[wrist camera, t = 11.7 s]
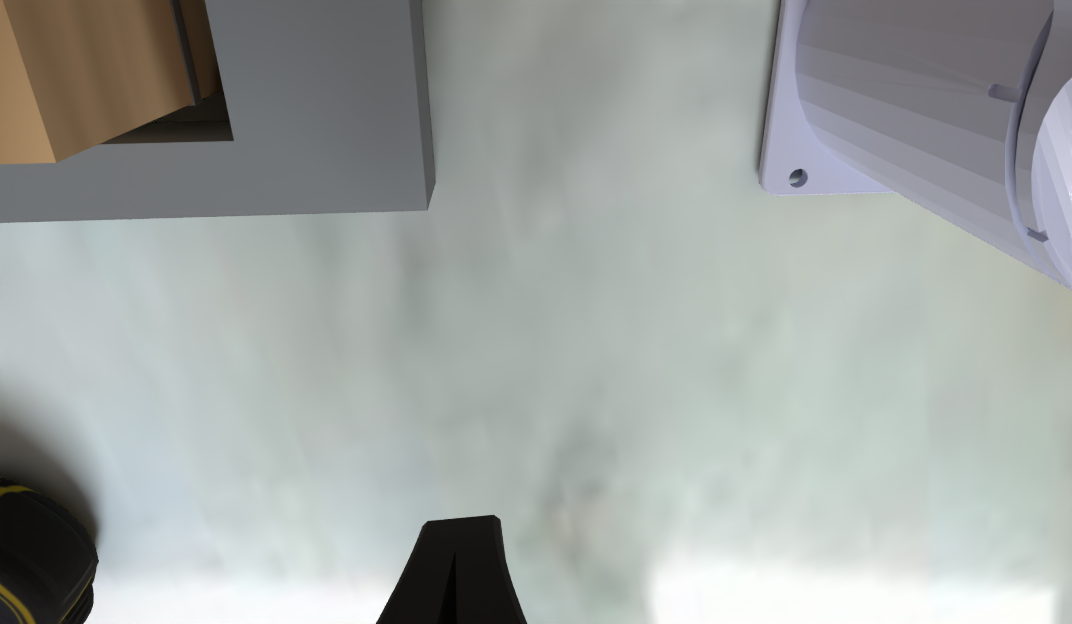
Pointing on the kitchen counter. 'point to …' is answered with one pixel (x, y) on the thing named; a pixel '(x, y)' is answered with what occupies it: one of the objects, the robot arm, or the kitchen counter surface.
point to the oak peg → (97, 71)
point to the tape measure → (42, 560)
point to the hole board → (267, 126)
